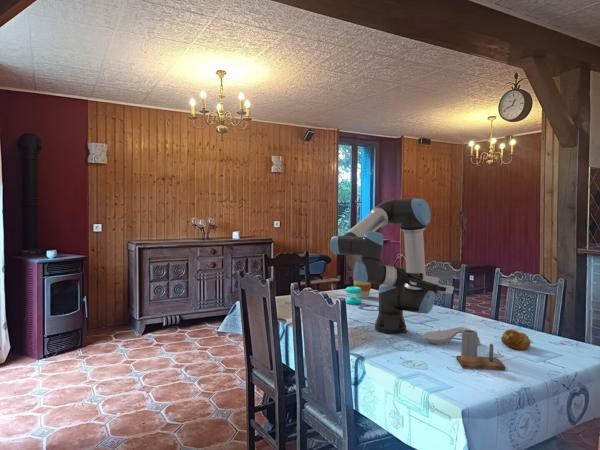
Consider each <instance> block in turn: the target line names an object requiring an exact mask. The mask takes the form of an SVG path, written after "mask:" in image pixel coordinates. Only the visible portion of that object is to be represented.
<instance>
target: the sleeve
mask: <svg viewBox="0 0 600 450" xmlns="http://www.w3.org/2000/svg"><path fill="white" fill-rule="evenodd" d="M477 335H478V331H477V330H473V329H471V330H462V332H461V348H460V351H461V353H460V356H461V360H462V361H464V362H468V363H475V362H477V356H478V345H477Z"/></svg>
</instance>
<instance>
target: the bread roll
mask: <svg viewBox="0 0 600 450" xmlns="http://www.w3.org/2000/svg"><path fill="white" fill-rule="evenodd" d="M500 339H501V342H502V343H503V344H504V345H505V346H507V347H508V348H510V349H513V350H517V351H524V350H527V349H529V348H530V346H531V339H530V337H529V336H528V335H527V334H526V333H524V332H519V331H518V330H515V329H512V328H511V329H507V330H505V331H504V332H503V334H502V336H501V337H500Z"/></svg>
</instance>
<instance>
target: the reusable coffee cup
mask: <svg viewBox="0 0 600 450" xmlns="http://www.w3.org/2000/svg"><path fill="white" fill-rule="evenodd" d="M352 279H353V287H359V288H361V292H360V293H358V294H354V295H355V296H354V297H358V298H360V299H361V300H362V299H369V297H370V291H371V290H372V288H371V287H372V283H369V282H364V281H359V280H356V279H355V278H354V275H353V276H352Z"/></svg>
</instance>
